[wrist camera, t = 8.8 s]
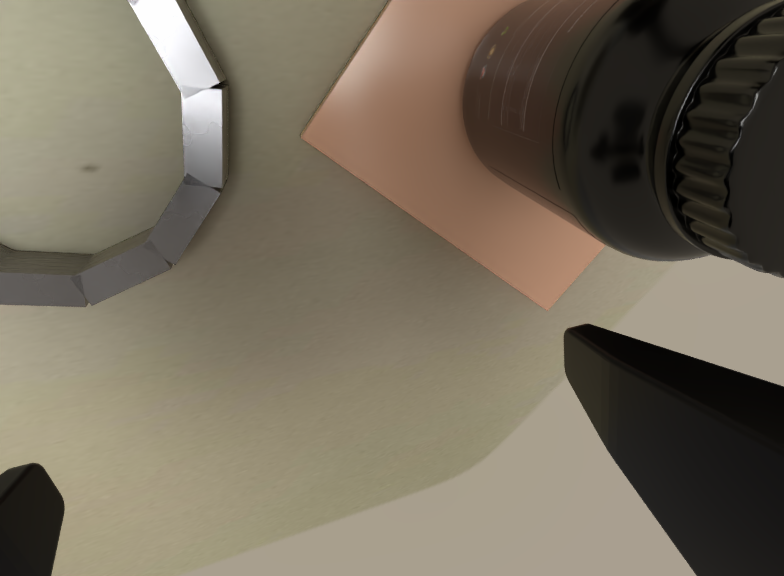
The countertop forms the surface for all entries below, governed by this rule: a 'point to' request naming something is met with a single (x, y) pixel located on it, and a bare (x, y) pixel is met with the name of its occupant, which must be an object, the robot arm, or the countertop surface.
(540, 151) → the supplement bottle
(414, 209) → the tile
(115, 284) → the collar
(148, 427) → the countertop surface
